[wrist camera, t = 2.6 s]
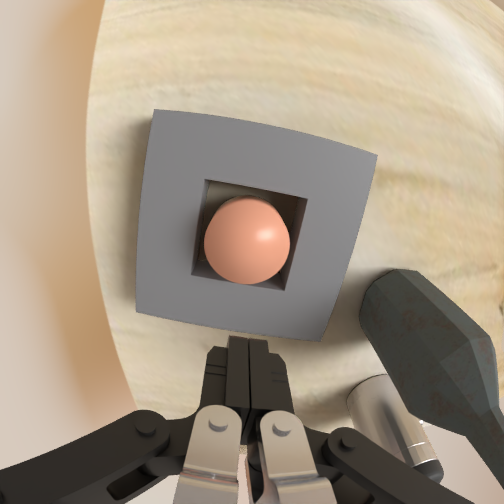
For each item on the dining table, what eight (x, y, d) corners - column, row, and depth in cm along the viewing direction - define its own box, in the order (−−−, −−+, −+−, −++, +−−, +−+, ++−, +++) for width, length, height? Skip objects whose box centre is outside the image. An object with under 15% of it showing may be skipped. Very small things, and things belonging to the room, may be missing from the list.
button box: (361, 153, 26) (377, 154, 22) (313, 321, 33) (320, 341, 29) (166, 114, 24) (154, 109, 21) (146, 294, 31) (135, 311, 27)
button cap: (290, 203, 26) (298, 212, 22) (274, 271, 28) (279, 290, 24) (216, 189, 25) (211, 195, 22) (205, 259, 28) (199, 276, 24)
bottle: (368, 346, 35) (458, 540, 6) (345, 294, 32) (472, 541, 3) (429, 308, 33) (552, 466, 5) (415, 251, 30) (596, 424, 2)
